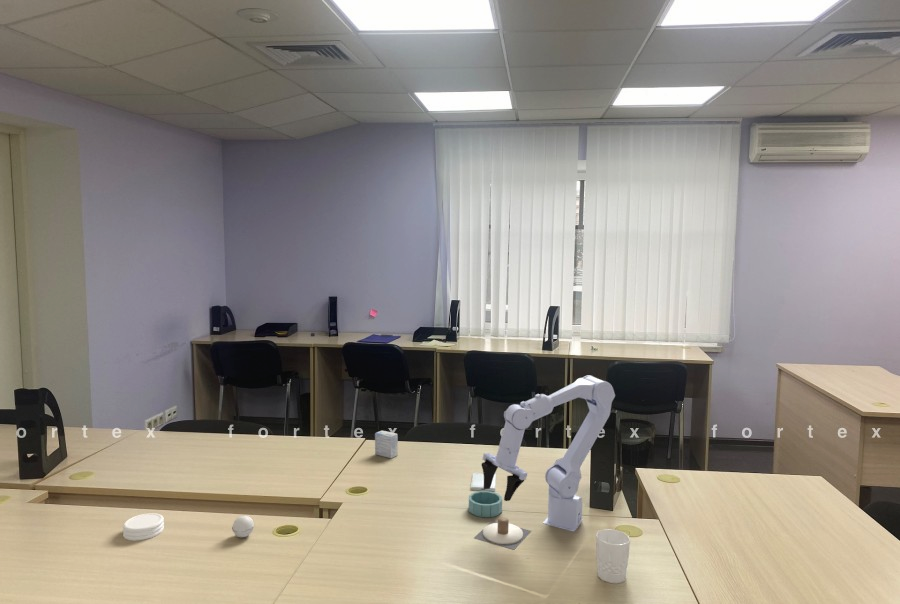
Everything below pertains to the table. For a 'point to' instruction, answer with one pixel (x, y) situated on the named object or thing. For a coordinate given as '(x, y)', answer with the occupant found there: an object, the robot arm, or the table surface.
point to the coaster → (143, 526)
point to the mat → (510, 546)
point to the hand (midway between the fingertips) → (496, 494)
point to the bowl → (485, 504)
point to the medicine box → (386, 444)
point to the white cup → (612, 555)
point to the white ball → (243, 526)
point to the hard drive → (481, 482)
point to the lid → (503, 532)
